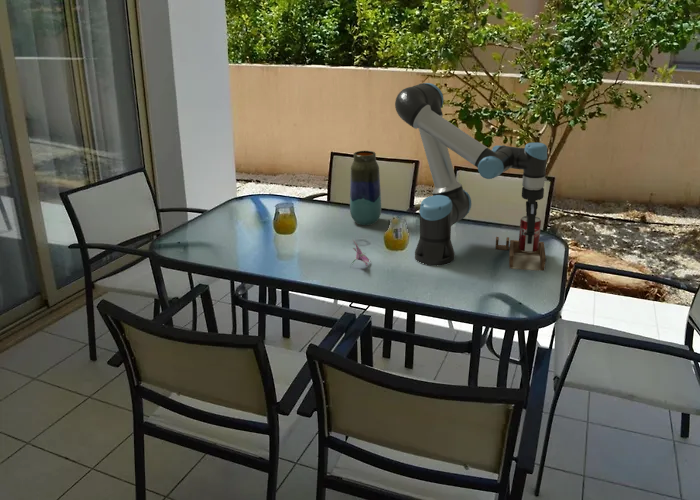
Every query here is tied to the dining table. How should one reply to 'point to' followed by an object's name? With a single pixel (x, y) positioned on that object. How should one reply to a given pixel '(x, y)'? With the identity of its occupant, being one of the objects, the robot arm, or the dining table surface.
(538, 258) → the end holder
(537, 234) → the soda can
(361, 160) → the vase
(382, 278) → the dining table surface
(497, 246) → the clip
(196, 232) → the dining table surface
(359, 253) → the lily
